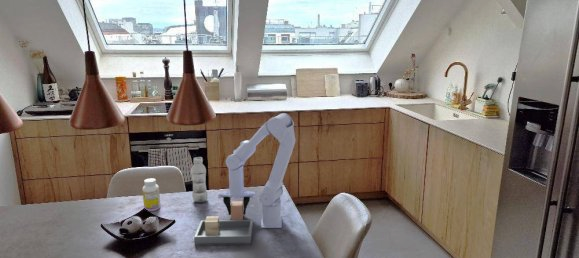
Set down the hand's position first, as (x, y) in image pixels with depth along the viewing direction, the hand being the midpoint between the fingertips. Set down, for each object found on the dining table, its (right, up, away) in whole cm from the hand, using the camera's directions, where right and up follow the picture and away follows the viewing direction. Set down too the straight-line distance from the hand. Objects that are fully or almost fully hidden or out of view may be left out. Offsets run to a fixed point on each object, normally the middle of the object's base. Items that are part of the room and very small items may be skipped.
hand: (237, 213), depth 165 cm
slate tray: (-3, -5, -15) cm, 16 cm away
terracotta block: (0, -1, 0) cm, 2 cm away
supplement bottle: (-37, 0, +8) cm, 38 cm away
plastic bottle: (-18, +2, +15) cm, 24 cm away
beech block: (-7, -4, -15) cm, 17 cm away
